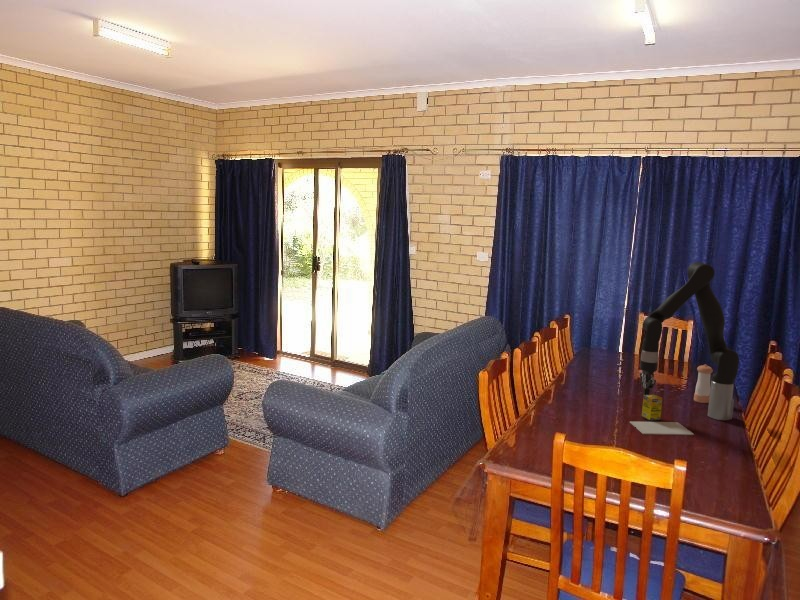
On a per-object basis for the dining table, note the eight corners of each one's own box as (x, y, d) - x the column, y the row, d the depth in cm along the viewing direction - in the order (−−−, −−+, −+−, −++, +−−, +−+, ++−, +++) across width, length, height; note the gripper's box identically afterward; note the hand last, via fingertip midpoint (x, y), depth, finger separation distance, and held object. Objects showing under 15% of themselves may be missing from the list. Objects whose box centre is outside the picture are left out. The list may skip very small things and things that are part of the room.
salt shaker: (711, 403, 289) (715, 367, 286) (696, 402, 290) (699, 365, 288) (707, 399, 296) (710, 363, 293) (691, 398, 297) (695, 362, 295)
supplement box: (649, 421, 261) (652, 398, 260) (641, 417, 267) (643, 394, 265) (660, 420, 263) (663, 398, 261) (651, 416, 268) (654, 394, 267)
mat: (677, 423, 260) (677, 422, 260) (693, 435, 246) (693, 434, 246) (629, 422, 260) (629, 421, 260) (643, 434, 246) (643, 433, 246)
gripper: (663, 363, 261) (660, 400, 264) (650, 356, 274) (647, 391, 277) (647, 363, 261) (644, 400, 264) (635, 356, 274) (632, 391, 277)
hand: (646, 395), depth 270 cm, fingers closed
